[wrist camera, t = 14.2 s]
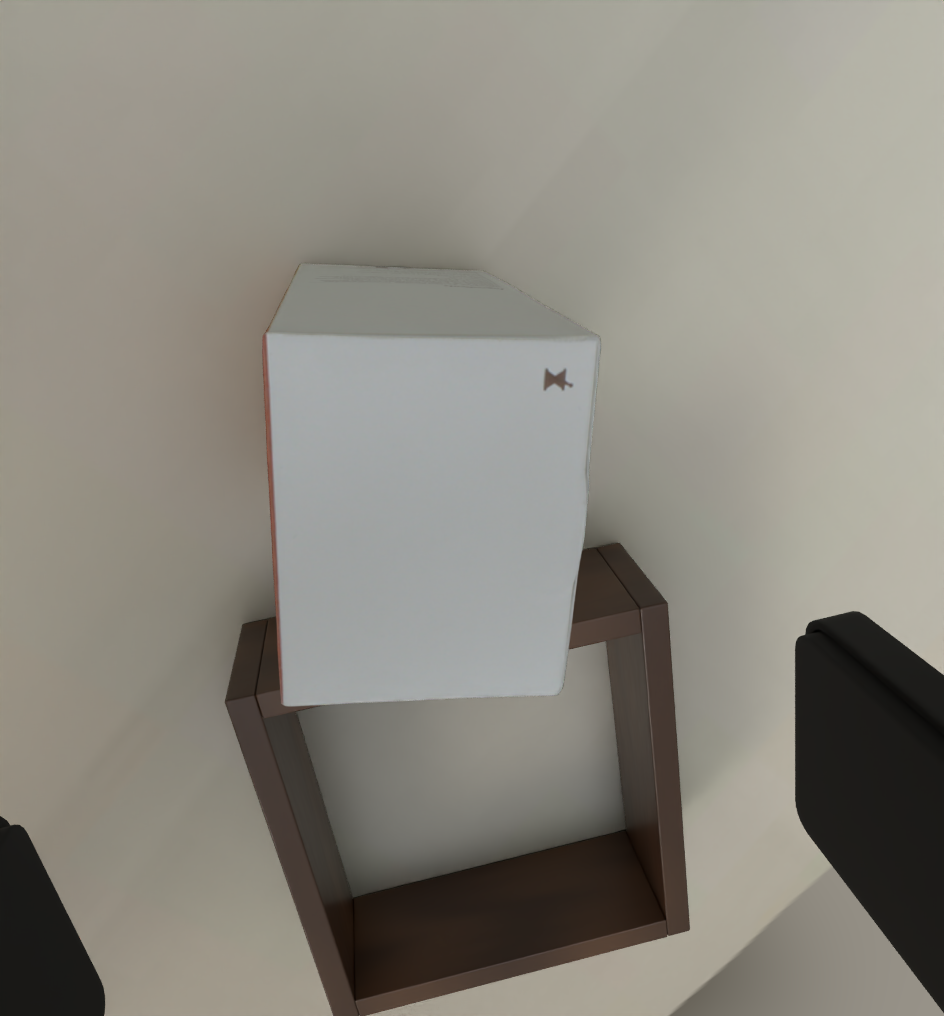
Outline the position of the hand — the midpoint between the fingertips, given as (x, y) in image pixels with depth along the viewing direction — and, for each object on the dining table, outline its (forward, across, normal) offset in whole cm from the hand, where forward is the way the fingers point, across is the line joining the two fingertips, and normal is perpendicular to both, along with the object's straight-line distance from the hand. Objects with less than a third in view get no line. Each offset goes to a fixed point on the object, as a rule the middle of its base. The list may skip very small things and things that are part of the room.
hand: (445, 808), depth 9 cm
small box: (+20, -1, -1) cm, 20 cm away
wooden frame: (+20, -1, +15) cm, 25 cm away
